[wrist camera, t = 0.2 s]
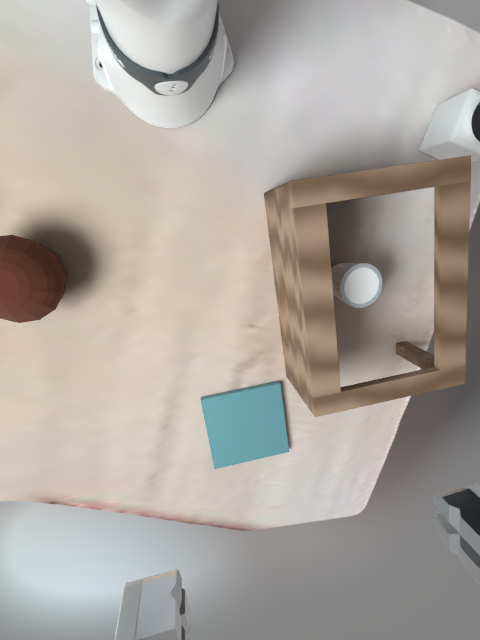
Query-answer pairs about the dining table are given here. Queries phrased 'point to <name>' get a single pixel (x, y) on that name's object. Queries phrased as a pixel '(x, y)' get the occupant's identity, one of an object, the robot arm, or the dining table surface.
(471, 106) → the medicine bottle
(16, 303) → the muffin
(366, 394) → the box
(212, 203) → the dining table surface
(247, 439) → the mat
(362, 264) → the shot glass
